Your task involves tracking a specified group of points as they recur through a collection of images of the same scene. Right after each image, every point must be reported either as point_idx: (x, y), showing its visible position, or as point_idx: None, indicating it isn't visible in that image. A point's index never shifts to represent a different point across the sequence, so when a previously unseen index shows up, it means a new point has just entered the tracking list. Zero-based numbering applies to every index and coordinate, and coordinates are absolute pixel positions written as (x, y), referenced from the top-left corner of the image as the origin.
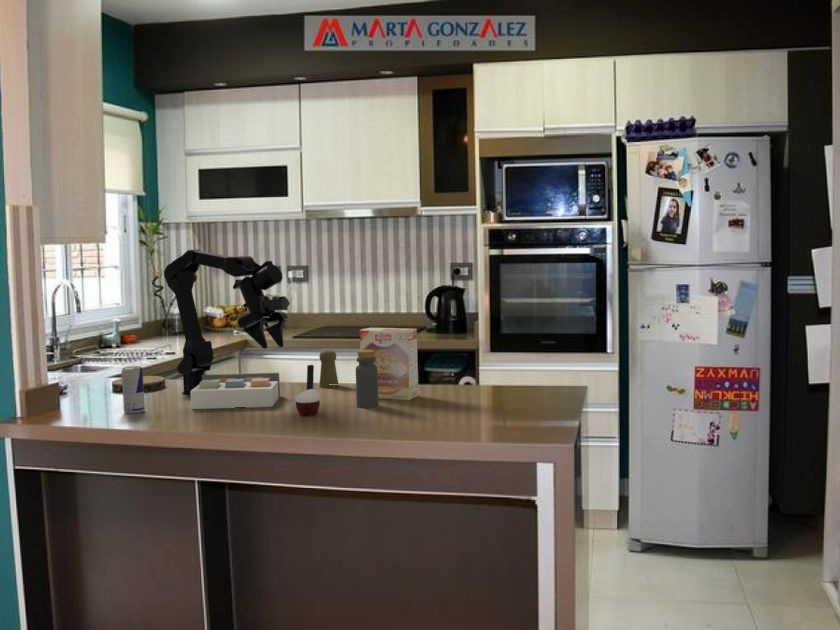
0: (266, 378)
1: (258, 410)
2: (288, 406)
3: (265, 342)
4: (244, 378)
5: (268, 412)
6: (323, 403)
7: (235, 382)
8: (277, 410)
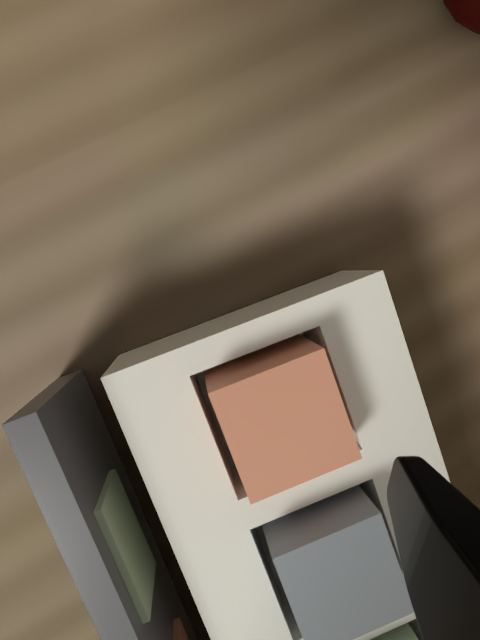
0: (237, 404)
1: (435, 296)
2: (317, 186)
3: (476, 511)
4: (147, 625)
5: (470, 220)
6: (201, 14)
7: (391, 547)
8: (420, 197)
